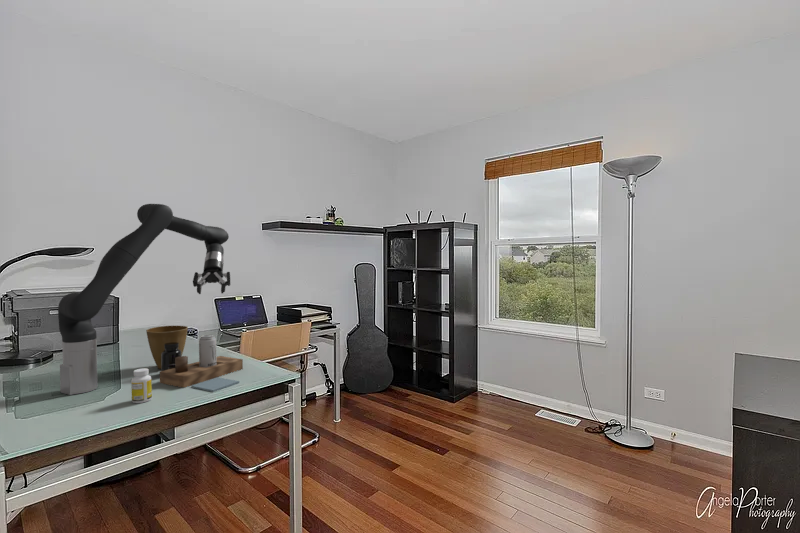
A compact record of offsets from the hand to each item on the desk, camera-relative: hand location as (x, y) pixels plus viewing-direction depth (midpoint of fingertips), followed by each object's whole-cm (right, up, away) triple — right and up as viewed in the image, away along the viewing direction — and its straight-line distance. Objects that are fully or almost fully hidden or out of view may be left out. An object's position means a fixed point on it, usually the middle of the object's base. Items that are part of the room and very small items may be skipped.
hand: (210, 292), depth 168 cm
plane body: (+3, -31, -12) cm, 33 cm away
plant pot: (-18, -31, +1) cm, 36 cm away
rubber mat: (+12, -31, -23) cm, 41 cm away
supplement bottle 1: (-4, -32, -38) cm, 50 cm away
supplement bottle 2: (-11, -31, -9) cm, 34 cm away
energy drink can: (+3, -31, -10) cm, 33 cm away
